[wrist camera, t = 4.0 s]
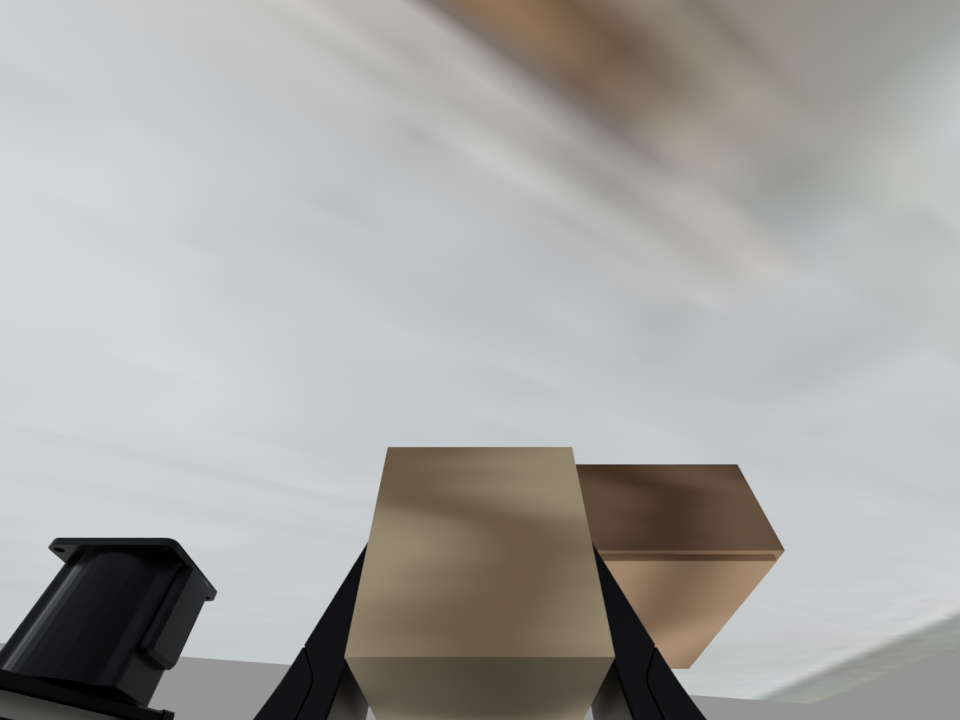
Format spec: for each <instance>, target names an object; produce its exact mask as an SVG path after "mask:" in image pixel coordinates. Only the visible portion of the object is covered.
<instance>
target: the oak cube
mask: <svg viewBox="0 0 960 720" xmlns="http://www.w3.org/2000/svg"><path fill="white" fill-rule="evenodd" d="M344 657H345V659H346V661H347V663H348V665H349V667H350V669H351V671H352V673H353V675H354V677H355V679H356V681H357V683H358V685H359V687H360V689H361V691H362V693H363V695H364V697H365V698H366V700H367V702H368V704H369V706H370V708H371V710H372V712H373V714H374V716H375V718H376V720H584V718H585V716H586V714H587V712H588V710H589V708H590V706H591V704H592V702H593V700H594V698H595V696H596V694H597V692H598V690H599V688H600V686H601V684H602V682H603V680H604V678H605V676H606V674H607V672H608V670H609V668H610V666H611V664H612V662H613V660H614V658H615V653H614V649H613V644H612V639H611V634H610V629H609V624H608V619H607V615H606V610H605V605H604V600H603V595H602V590H601V585H600V580H599V576H598V571H597V566H596V561H595V556H594V551H593V546H592V542H591V537H590V532H589V527H588V522H587V517H586V512H585V508H584V503H583V498H582V493H581V488H580V483H579V478H578V473H577V469H576V464H575V459H574V454H573V449H572V447H388V448H387V453H386V458H385V462H384V467H383V472H382V477H381V482H380V487H379V492H378V496H377V501H376V506H375V511H374V516H373V521H372V525H371V530H370V535H369V540H368V545H367V550H366V555H365V559H364V564H363V569H362V574H361V579H360V584H359V589H358V593H357V598H356V603H355V608H354V613H353V618H352V622H351V627H350V632H349V637H348V642H347V647H346V652H345V656H344Z"/></svg>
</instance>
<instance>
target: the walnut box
mask: <svg viewBox="0 0 960 720" xmlns="http://www.w3.org/2000/svg"><path fill="white" fill-rule="evenodd" d="M576 469H577V473H578V478H579V483H580V488H581V493H582V498H583V503H584V508H585V512H586V517H587V522H588V527H589V532H590V537H591V541H592V543H593V544H594V546H595V548H596V549H597V551H598V552H599V554H600V556H601V557H602V559H603V561H604V562H605V564H606V565H607V567H608V569H609V570H610V572H611V574H612V575H613V577H614V578H615V580H616V582H617V583H618V585H619V586H620V588H621V590H622V591H623V593H624V595H625V596H626V598H627V599H628V601H629V603H630V604H631V606H632V608H633V609H634V611H635V612H636V614H637V616H638V617H639V619H640V621H641V622H642V624H643V625H644V627H645V629H646V630H647V632H648V634H649V635H650V637H651V638H652V640H653V642H654V643H655V647H657V648H658V649H659V651H660V653H661V654H662V656H663V658H664V659H665V661H666V662H667V664H668V665H669V667H670V669H689V668H690V667H691V666H692V664H693V663H694V662H695V661H696V660H697V658H698V657H699V656H700V655H701V654H702V652H703V651H704V650H705V649H706V647H707V646H708V645H709V644H710V643H711V641H712V640H713V639H714V638H715V636H716V635H717V634H718V633H719V632H720V630H721V629H722V628H723V627H724V625H725V624H726V623H727V622H728V621H729V619H730V618H731V617H732V616H733V614H734V613H735V612H736V611H737V610H738V608H739V607H740V606H741V605H742V603H743V602H744V601H745V600H746V599H747V597H748V596H749V595H750V594H751V593H752V591H753V590H754V589H755V588H756V586H757V585H758V584H759V583H760V582H761V580H762V579H763V578H764V577H765V575H766V574H767V573H768V572H769V571H770V569H771V568H772V567H773V566H774V564H775V563H776V562H777V560H778V559H779V557H780V556H781V555H782V554H783V553H784V551H785V549H784V548H783V546H782V544H781V542H780V540H779V539H778V537H777V535H776V533H775V531H774V530H773V528H772V526H771V524H770V522H769V520H768V519H767V517H766V515H765V513H764V511H763V510H762V508H761V506H760V504H759V502H758V501H757V499H756V497H755V495H754V493H753V491H752V490H751V488H750V486H749V484H748V482H747V481H746V479H745V477H744V475H743V473H742V472H741V470H740V468H739V466H738V464H576Z"/></svg>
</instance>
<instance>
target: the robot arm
mask: <svg viewBox="0 0 960 720" xmlns="http://www.w3.org/2000/svg"><path fill="white" fill-rule="evenodd" d="M591 542H592V541H591ZM367 545H368V542H367V544H366V545H365V547H364V549H363V550H362V552H361V554H360V555H359V557H358V558H357V560H356V562H355V563H354V565H353V567H352V568H351V570H350V571H349V573H348V575H347V576H346V578H345V579H344V581H343V583H342V584H341V586H340V588H339V589H338V591H337V592H336V594H335V596H334V597H333V599H332V601H331V602H330V604H329V605H328V607H327V609H326V610H325V612H324V613H323V615H322V617H321V618H320V620H319V622H318V623H317V625H316V626H315V628H314V630H313V631H312V633H311V635H310V636H309V638H308V639H307V641H306V643H305V644H304V646H305V647H303V648H302V649H301V651H300V652H299V654H298V655H297V657H296V659H295V660H294V662H293V663H292V665H291V666H290V668H289V670H288V671H287V673H286V674H285V676H284V677H283V679H282V680H281V682H280V683H279V685H278V686H277V687H276V689H275V690H274V692H273V693H272V694H271V696H270V697H269V698H268V700H267V701H266V703H265V704H264V705H263V707H262V708H261V709H260V711H259V712H258V713H257V715H256V716H255V717H254V719H253V720H366V717H367V713H368V708H369V704H368V702H367V700H366V698H365V697H364V695H363V693H362V691H361V689H360V687H359V685H358V683H357V681H356V679H355V677H354V675H353V673H352V671H351V669H350V667H349V665H348V663H347V661H346V659H345V657H344V656H345V652H346V647H347V642H348V637H349V632H350V627H351V622H352V618H353V613H354V608H355V603H356V598H357V593H358V589H359V584H360V579H361V574H362V569H363V564H364V559H365V555H366V550H367ZM592 546H593V551H594V556H595V561H596V566H597V571H598V576H599V580H600V585H601V590H602V595H603V600H604V605H605V610H606V615H607V619H608V624H609V629H610V634H611V639H612V644H613V649H614V653H615V658H614V660H613V662H612V664H611V666H610V668H609V670H608V672H607V674H606V676H605V678H604V680H603V682H602V684H601V686H600V688H599V690H598V692H597V694H596V696H595V698H594V700H593V702H592V704H591V709H592V714H593V719H594V720H707V719H706V718H705V716H704V715H703V714H702V712H701V711H700V710H699V708H698V707H697V706H696V704H695V703H694V702H693V700H692V699H691V698H690V696H689V695H688V693H687V692H686V691H685V689H684V688H683V686H682V685H681V684H680V682H679V681H678V679H677V678H676V676H675V675H674V673H673V672H672V670H671V669H670V667H669V665H668V664H667V662H666V661H665V659H664V658H663V656H662V654H661V653H660V651H659V649H658V648H657V647H655V643H654V642H653V640H652V638H651V637H650V635H649V634H648V632H647V630H646V629H645V627H644V625H643V624H642V622H641V621H640V619H639V617H638V616H637V614H636V612H635V611H634V609H633V608H632V606H631V604H630V603H629V601H628V599H627V598H626V596H625V595H624V593H623V591H622V590H621V588H620V586H619V585H618V583H617V582H616V580H615V578H614V577H613V575H612V574H611V572H610V570H609V569H608V567H607V565H606V564H605V562H604V561H603V559H602V557H601V556H600V554H599V552H598V551H597V549H596V548H595V546H594V544H593V543H592ZM48 548H49V550H50V551H52V552H53V553H54V554H55V555H56V556H57V557H59V558H60V559H61V560H62V561H63V562H64V563H65V564H64V565H63V567H62V568H61V569H60V571H59V572H58V573H57V575H56V576H55V577H54V579H53V580H52V582H51V583H50V584H49V586H48V587H47V588H46V590H45V591H44V592H43V594H42V595H41V597H40V598H39V599H38V601H37V602H36V603H35V605H34V606H33V607H32V609H31V610H30V611H29V613H28V614H27V616H26V617H25V618H24V620H23V621H22V622H21V624H20V625H19V626H18V628H17V629H16V630H15V632H14V633H13V635H12V636H11V637H10V639H9V640H8V641H7V643H6V644H5V645H4V647H3V648H2V649H1V651H0V720H174V716H175V712H173V711H169V710H165V709H163V710H156V709H152V708H148V705H149V703H150V701H151V699H152V697H153V694H154V692H155V690H156V688H157V686H158V684H159V682H160V680H161V677H162V675H163V673H164V671H165V670H171V669H172V668H173V667H174V666H175V665H176V664H177V661H178V659H179V657H180V655H181V653H182V650H183V648H184V646H185V644H186V642H187V639H188V637H189V635H190V633H191V631H192V629H193V626H194V624H195V622H196V620H197V618H198V615H199V613H200V611H201V609H202V607H203V604H204V602H205V601H213V600H214V599H215V597H216V595H217V590H216V589H215V588H214V586H213V585H212V584H211V583H210V581H209V580H208V579H207V578H206V576H205V575H204V574H203V573H202V571H201V570H200V569H199V568H198V566H197V565H196V564H195V562H194V561H193V560H192V559H191V557H190V556H189V555H188V554H187V552H186V551H185V550H184V549H183V547H182V546H181V545H180V544H179V542H177V541H176V540H174V539H171V538H55V539H54V540H53V541H52V543H51V544H50V545H49V547H48Z"/></svg>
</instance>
